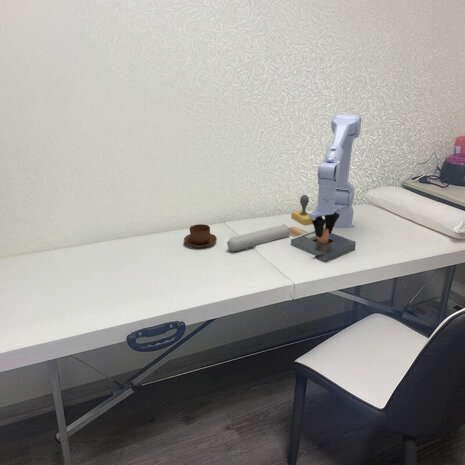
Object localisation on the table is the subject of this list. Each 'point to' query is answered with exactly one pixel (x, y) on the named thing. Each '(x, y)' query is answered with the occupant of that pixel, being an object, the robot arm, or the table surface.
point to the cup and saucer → (200, 236)
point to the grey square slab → (324, 246)
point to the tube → (258, 237)
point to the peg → (324, 237)
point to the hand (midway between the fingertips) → (323, 234)
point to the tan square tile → (296, 231)
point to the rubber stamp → (302, 212)
